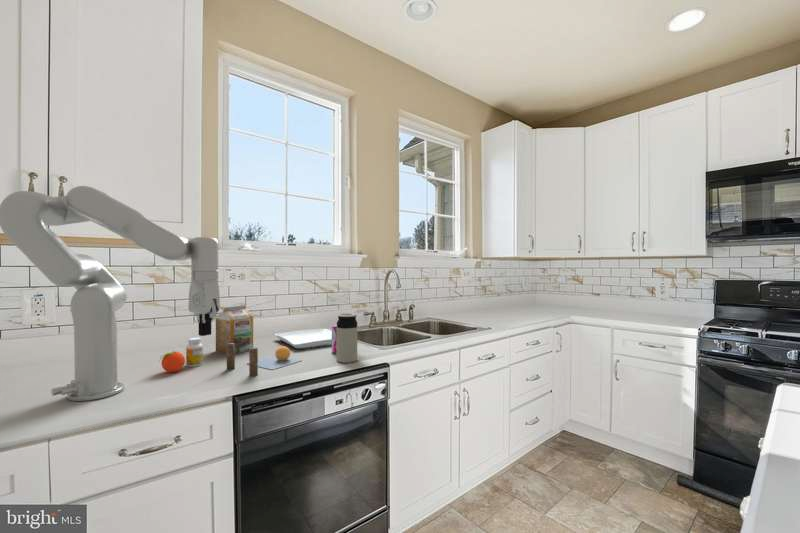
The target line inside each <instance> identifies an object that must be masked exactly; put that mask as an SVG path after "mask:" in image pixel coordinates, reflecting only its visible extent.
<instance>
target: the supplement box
mask: <svg viewBox="0 0 800 533" xmlns="http://www.w3.org/2000/svg"><path fill="white" fill-rule="evenodd" d="M331 330H332V345H331V354H334V355H335V354H336V355H337V324H334V325H333V326H331Z"/></svg>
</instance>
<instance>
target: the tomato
mask: <svg viewBox="0 0 800 533" xmlns="http://www.w3.org/2000/svg"><path fill="white" fill-rule="evenodd" d="M160 360H161V368H162V369H163V370H164V371H166V372H167V373H176V372H178V371H180V370H181V369H182V368H183V367H184V366H185V365H186V357H185V356H184V354H183V353H181V352H179V351H174V350H173V351H170V352H167V353H164V354H163V355H162V356H161V357H160V358H159V360H158V362H160Z"/></svg>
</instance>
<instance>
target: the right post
mask: <svg viewBox="0 0 800 533" xmlns="http://www.w3.org/2000/svg"><path fill="white" fill-rule="evenodd" d="M258 350H259V348H258V347H253V348H250V349H249V351H248V354H249V356H248V358H249V359H248V360H249V362H248V363H249V364H248V366H249V367H248V368H249V376H250V377H255V376H256V377H257V376H258V375H259V370H258V369H259V367H258V360H259V355H258V354H259V353H258V352H259V351H258Z"/></svg>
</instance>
